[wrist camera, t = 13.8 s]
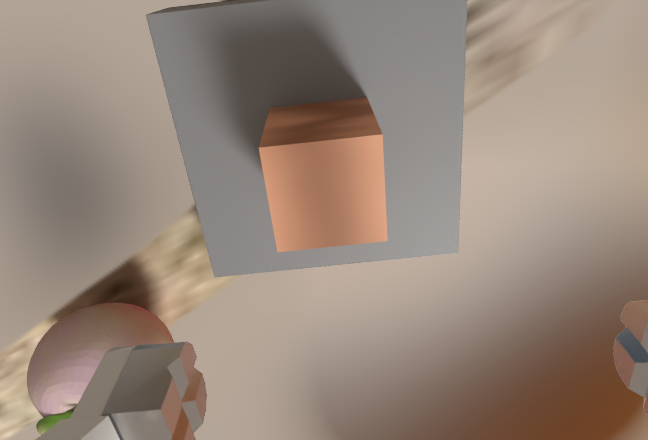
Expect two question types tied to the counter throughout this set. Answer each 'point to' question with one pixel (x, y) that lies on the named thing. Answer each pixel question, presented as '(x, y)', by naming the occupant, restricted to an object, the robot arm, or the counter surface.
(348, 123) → the terracotta block
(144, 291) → the counter surface
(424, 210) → the base slab
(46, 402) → the decorative fruit
